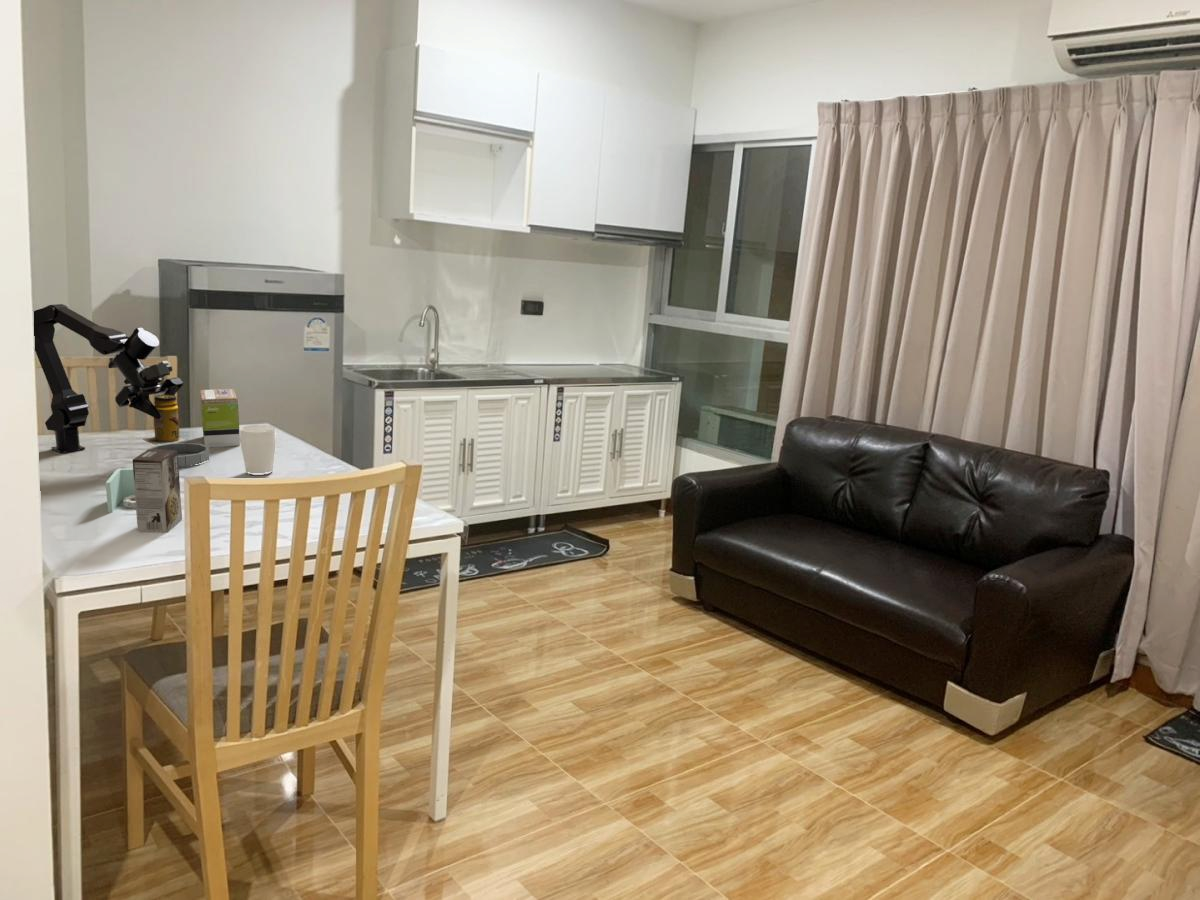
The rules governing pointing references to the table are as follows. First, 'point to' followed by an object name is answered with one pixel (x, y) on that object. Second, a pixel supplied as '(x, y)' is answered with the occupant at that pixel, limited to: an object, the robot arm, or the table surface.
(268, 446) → the cup
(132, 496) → the right angle wall
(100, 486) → the table surface
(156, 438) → the condiment
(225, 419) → the tea box
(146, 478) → the coffee box
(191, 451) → the round grey tray
